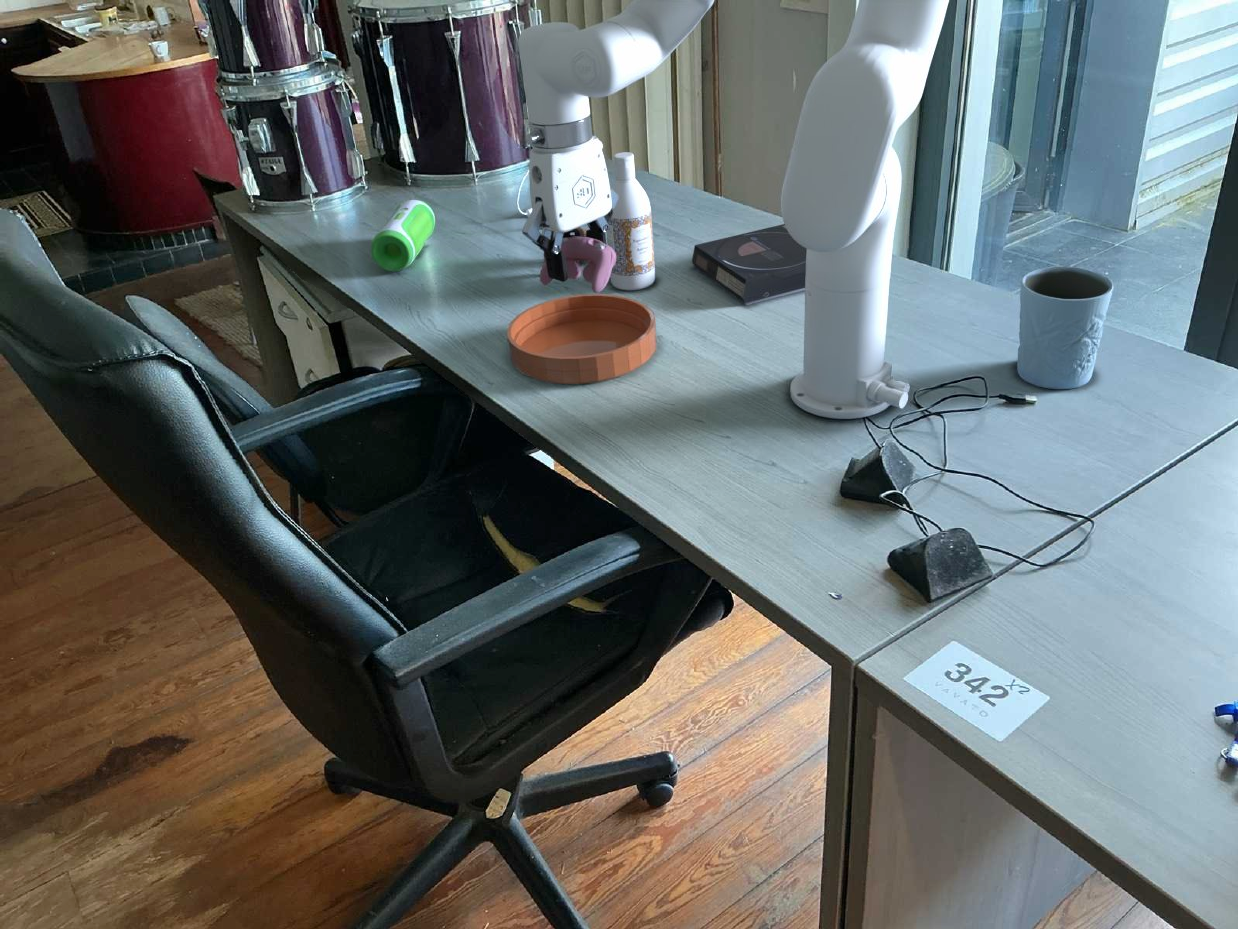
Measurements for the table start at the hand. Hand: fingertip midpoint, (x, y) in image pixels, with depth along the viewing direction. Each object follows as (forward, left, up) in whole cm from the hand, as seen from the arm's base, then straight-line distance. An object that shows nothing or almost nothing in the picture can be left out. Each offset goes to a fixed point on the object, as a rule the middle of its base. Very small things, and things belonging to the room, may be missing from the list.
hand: (578, 268), depth 137 cm
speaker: (+53, -7, -12) cm, 54 cm away
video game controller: (0, 0, -2) cm, 2 cm away
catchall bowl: (+1, 0, -12) cm, 12 cm away
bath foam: (+12, -21, -12) cm, 27 cm away
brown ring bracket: (+25, -20, -12) cm, 34 cm away
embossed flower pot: (-51, -31, -12) cm, 61 cm away
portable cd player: (-3, -35, -12) cm, 37 cm away
